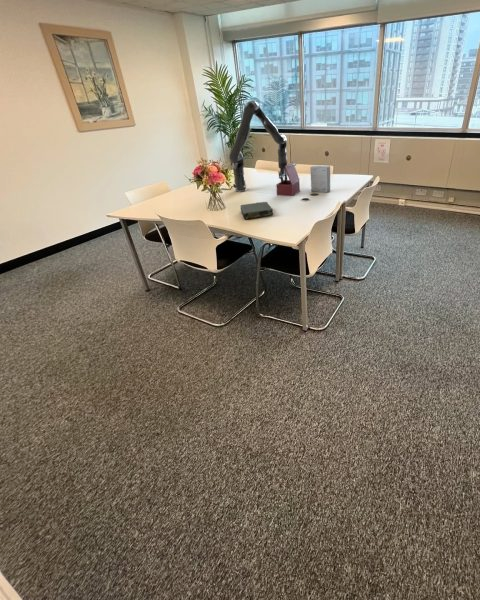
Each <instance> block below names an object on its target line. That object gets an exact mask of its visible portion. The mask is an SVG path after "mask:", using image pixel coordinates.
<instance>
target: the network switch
mask: <svg viewBox="0 0 480 600" xmlns="http://www.w3.org/2000/svg"><path fill="white" fill-rule="evenodd" d="M273 210H274V209H272V207H271V205H270V204H269V203H268V201H261V202H260V201H259V202H254V203H253V202H252V203H246V204H244V203H243V204H241V205H240V211H241V215H242V217H243V219H244V220H245V221H247V220H248V219H254V218H261V217H267V216H274V211H273Z"/></svg>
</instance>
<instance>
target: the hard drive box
mask: <svg viewBox="0 0 480 600" xmlns="http://www.w3.org/2000/svg"><path fill="white" fill-rule="evenodd" d="M310 188H311V189H310V191H311V192H318V193H328V192H330V191H331V165H312V166H311V167H310Z"/></svg>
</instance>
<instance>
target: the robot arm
mask: <svg viewBox="0 0 480 600" xmlns="http://www.w3.org/2000/svg"><path fill="white" fill-rule="evenodd" d="M243 107H244V109H243V112H242V117H241V121H240V123H239V127H238V130H237V132H236V136H235V139H234V142H233V146H232V148H231V150H230V152H229V155H228V158H229V162H230V163H231V164H234V165H233V167H232V172H233V178H234V179H233V181H234V183H233V184H232V186H231V187H230V188H224V187H223V188H222V187H221V189H220V190H225V191H226V190H227V191H229V190H232V189H233V188H234V189H235V191H236V192H238V193H239V192H240V193H243V192H246V191H248V190H247V184H246V176H245V171H244V169H245V168H244V167H245V162H244V155H243V153H242V151H241V150H242V149H243V147H244V146H245V144H246V143H247V141H248V139H249V137H250V133H251V123H252V119H253V117H254V116H255V117H256V118H257V119H258V120H259V121H260V122H261V124H262V126H263V128H264V130H266V132H267V133H268V134H269V135H270V136H271V138H272V139H273V141H274V142H275V143H276V144H277V145H278V148H277V163H278V168H279V170H278V179H280V182H281V183H282V184H283V183H284V181H283V180H285V181H287V180H288V175H287V172H286V169H285V167H284V166H286V165H288V155H287V137H286V135H285V134H282V133H279V130H278V128H277V127H276V125H275V124H274V123H273V122H272V121H271V119H270V118H268V117H267V115H266V114H265V112H264V111H263V109H262V108H261V106H260V105H259V103H258V102H257V101H255V100H249V101H247V102H246V103H245V105H244V106H243Z"/></svg>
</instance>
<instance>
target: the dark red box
mask: <svg viewBox="0 0 480 600" xmlns="http://www.w3.org/2000/svg"><path fill="white" fill-rule="evenodd" d="M283 181H284V183H283V184H282V183H281V181H279V182H278V183H276V185H275V186H276V195H277V196H286V197H293V196H295V195H296V194H298V193H299V192H301V188H300V186H301V185H300V180H299V181H297V182H296V183H294V184H292V185H291V183H290V180H289V179H287V181H285V179H283Z"/></svg>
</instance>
